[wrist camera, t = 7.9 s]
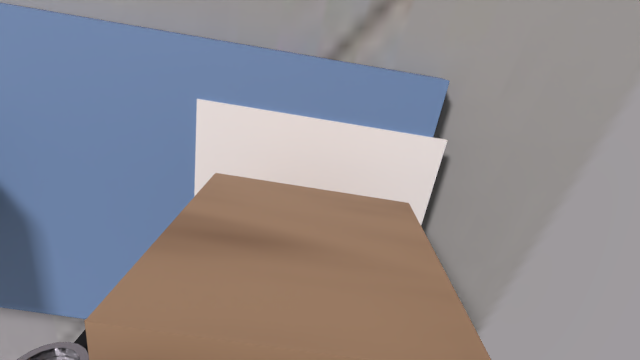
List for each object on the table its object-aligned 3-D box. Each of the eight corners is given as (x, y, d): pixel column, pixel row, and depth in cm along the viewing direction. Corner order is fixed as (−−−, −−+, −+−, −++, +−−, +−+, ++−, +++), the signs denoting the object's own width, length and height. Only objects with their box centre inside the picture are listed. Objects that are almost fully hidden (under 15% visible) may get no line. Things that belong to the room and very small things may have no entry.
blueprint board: (453, 80, 13) (464, 83, 12) (376, 342, 17) (379, 360, 16) (-247, -40, 12) (-303, -48, 11) (-125, 272, 16) (-155, 288, 15)
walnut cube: (368, 346, 13) (400, 579, 7) (207, 324, 13) (111, 548, 7) (409, 202, 11) (500, 377, 5) (215, 172, 10) (84, 320, 5)
